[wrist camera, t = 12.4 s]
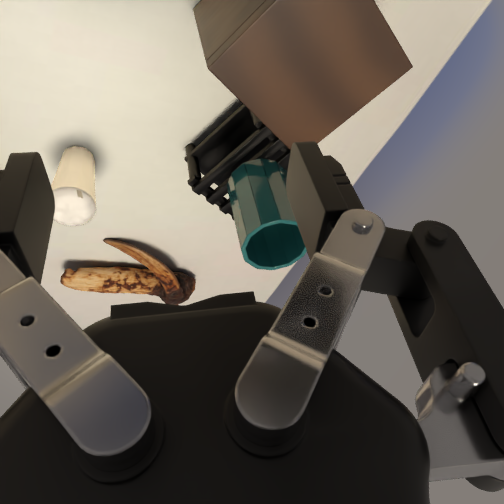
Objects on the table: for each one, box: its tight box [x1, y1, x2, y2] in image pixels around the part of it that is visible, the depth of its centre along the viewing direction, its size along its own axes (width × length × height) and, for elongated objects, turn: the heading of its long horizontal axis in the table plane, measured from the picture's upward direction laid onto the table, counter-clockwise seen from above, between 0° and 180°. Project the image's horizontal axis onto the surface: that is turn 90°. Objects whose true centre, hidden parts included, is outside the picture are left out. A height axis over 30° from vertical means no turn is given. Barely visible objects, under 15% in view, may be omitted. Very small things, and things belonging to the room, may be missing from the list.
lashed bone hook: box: [61, 239, 196, 305], centre depth 58 cm, size 9×5×18 cm
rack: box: [185, 104, 291, 221], centre depth 47 cm, size 10×10×7 cm
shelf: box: [193, 0, 413, 150], centre depth 36 cm, size 11×11×12 cm
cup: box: [227, 158, 307, 270], centre depth 42 cm, size 6×6×9 cm
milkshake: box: [51, 146, 96, 226], centre depth 43 cm, size 4×5×10 cm
